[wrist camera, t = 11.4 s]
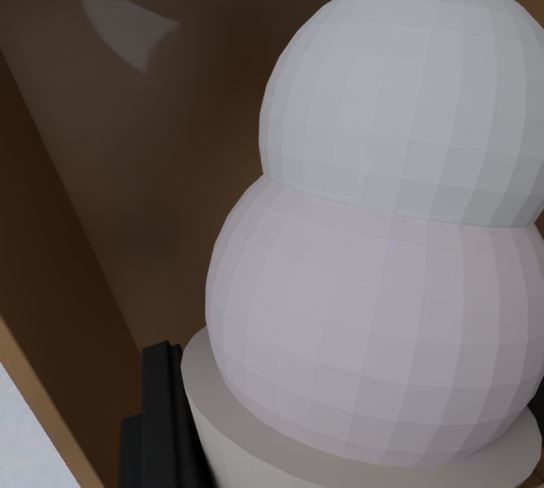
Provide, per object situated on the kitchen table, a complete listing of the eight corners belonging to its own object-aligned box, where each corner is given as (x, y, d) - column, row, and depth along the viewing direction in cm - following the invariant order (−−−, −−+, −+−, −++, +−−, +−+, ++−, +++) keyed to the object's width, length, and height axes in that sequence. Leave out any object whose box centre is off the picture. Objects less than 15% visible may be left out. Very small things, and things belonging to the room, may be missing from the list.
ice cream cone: (227, 554, 15) (311, 11, 11) (439, 664, 13) (632, 35, 9) (71, 790, 10) (132, -113, 6) (393, 1049, 7) (830, -129, 4)
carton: (-43, -14, 14) (-245, -16, 7) (391, -122, 15) (620, -223, 8) (163, 424, 23) (173, 633, 16) (431, 334, 24) (559, 488, 17)
